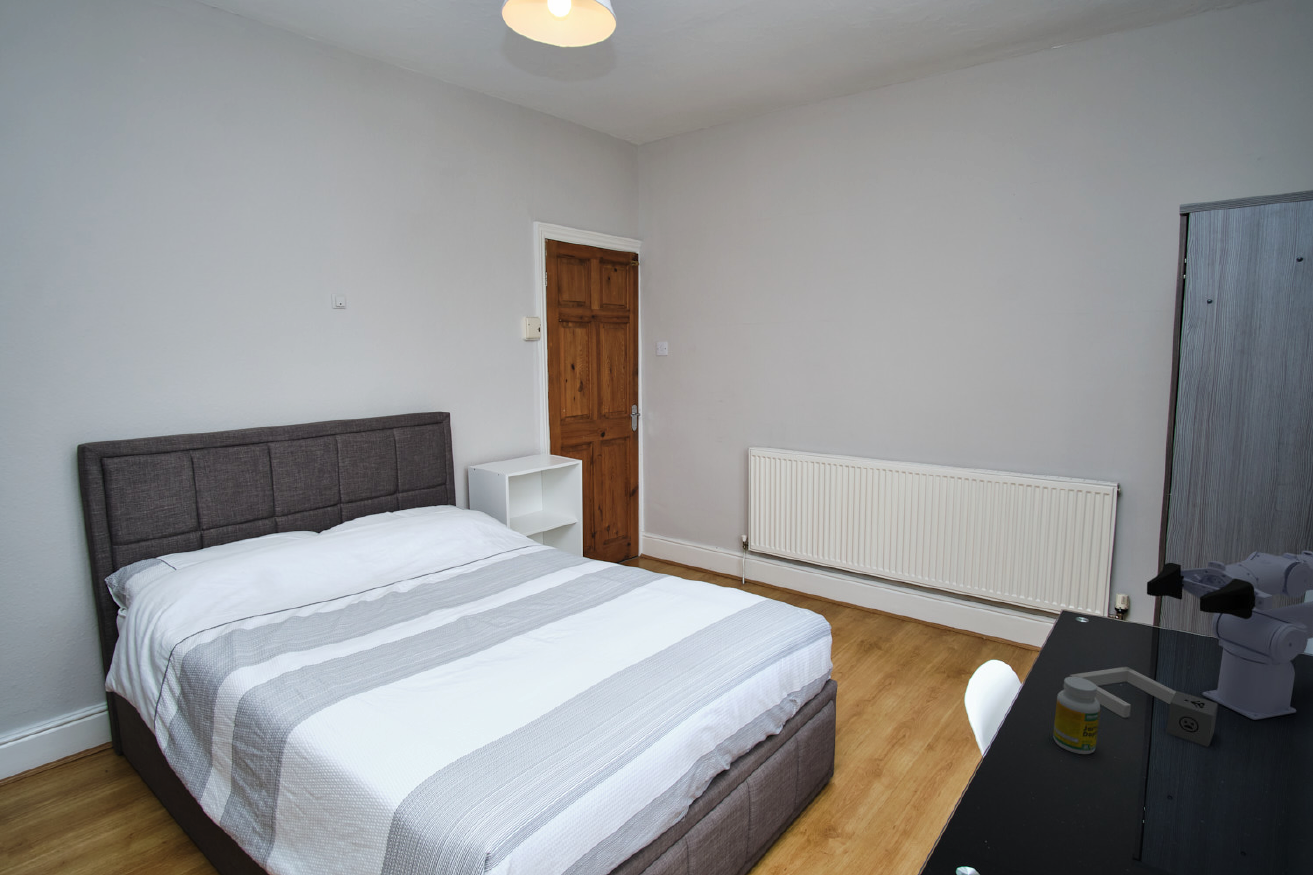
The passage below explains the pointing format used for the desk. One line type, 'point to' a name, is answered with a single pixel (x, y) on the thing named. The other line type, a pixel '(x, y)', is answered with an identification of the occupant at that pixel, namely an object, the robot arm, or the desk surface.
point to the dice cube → (1192, 718)
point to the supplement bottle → (1077, 716)
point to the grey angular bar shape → (1124, 676)
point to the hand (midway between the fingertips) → (1174, 596)
